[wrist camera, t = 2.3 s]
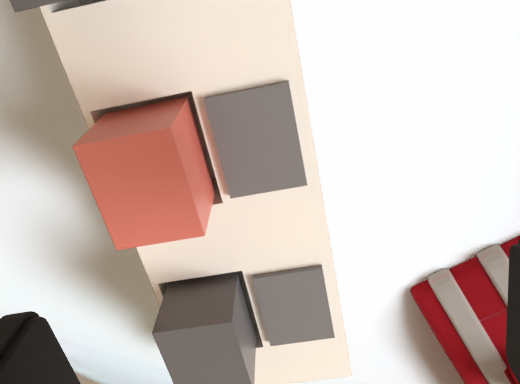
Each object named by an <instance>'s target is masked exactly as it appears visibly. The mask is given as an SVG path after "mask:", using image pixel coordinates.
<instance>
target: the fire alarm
mask: <svg viewBox="0 0 520 384" xmlns="http://www.w3.org/2000/svg"><path fill="white" fill-rule="evenodd" d="M519 239H520V236H519V237H516V238H514V239H512V240H510V241H508V242H506V243H504V244H502V245H499V244H494V245H492V246H490V247H488V248H486V249H484V250H482V251H480V252H478V253H477V254H476V257H474V258H472V259H470V260H468V261H466V262H464V263H461V264H459V265H457V266H455V267H453V268H451V269H448V268H444V269H442V270H440V271H437V272H435V273H433V274H431V275H429V276H428V277H427V280H426V281H423V282H421V283H419V284H417V285H415V286H413V287H412V288H411V293H412V295H413V297H414V299H415V301H416V303H417V305H418V306H419V308H420V310H421V312H422V313H423V315H424V317H425V318H426V320H427V322H428V324H429V325H430V327H431V329H432V330H433V332H434V334H435V335H436V337H437V339H438V340H439V342H440V344H441V345H442V347H443V349H444V350H445V352H446V354H447V355H448V357H449V359H450V360H451V362H452V363H453V365H454V367H455V368H456V370H457V371H458V373H459V375H460V376H461V378H462V379H463V381H464V382H465V384H519V382H518V380H517V378H516V377H515V375H514V373H513V372H512V370H511V368H510V365H509V363H508V359H507V355H506V330H507V303H508V276H509V251H510V247H511V246H512V245H516V244H518V241H519Z"/></svg>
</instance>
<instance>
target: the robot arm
mask: <svg viewBox="0 0 520 384" xmlns="http://www.w3.org/2000/svg"><path fill="white" fill-rule="evenodd" d="M506 355H507V359H508V363H509V365H510V368H511V370H512V372H513V373H514V375H515V377H516V378H517V380H518V382H519V384H520V239H519V241H518V244H516V245H512V246H511V247H510V251H509V276H508V303H507V330H506ZM0 384H80V382H79V380H78V378H77V376H76V374H75V372H74V371H73V369H72V367H71V365H70V363H69V361H68V359H67V357H66V356H65V354H64V352H63V350H62V348H61V346H60V344H59V342H58V341H57V339H56V337H55V335H54V333H53V331H52V329H51V327H50V326H49V324H48V322H47V320H46V319H45V318H43V317H39V315H38V314H37V313H35V312H31V311H30V312H23V313H17V314H10V315H6V316H3V317H2V318H1V319H0Z"/></svg>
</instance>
